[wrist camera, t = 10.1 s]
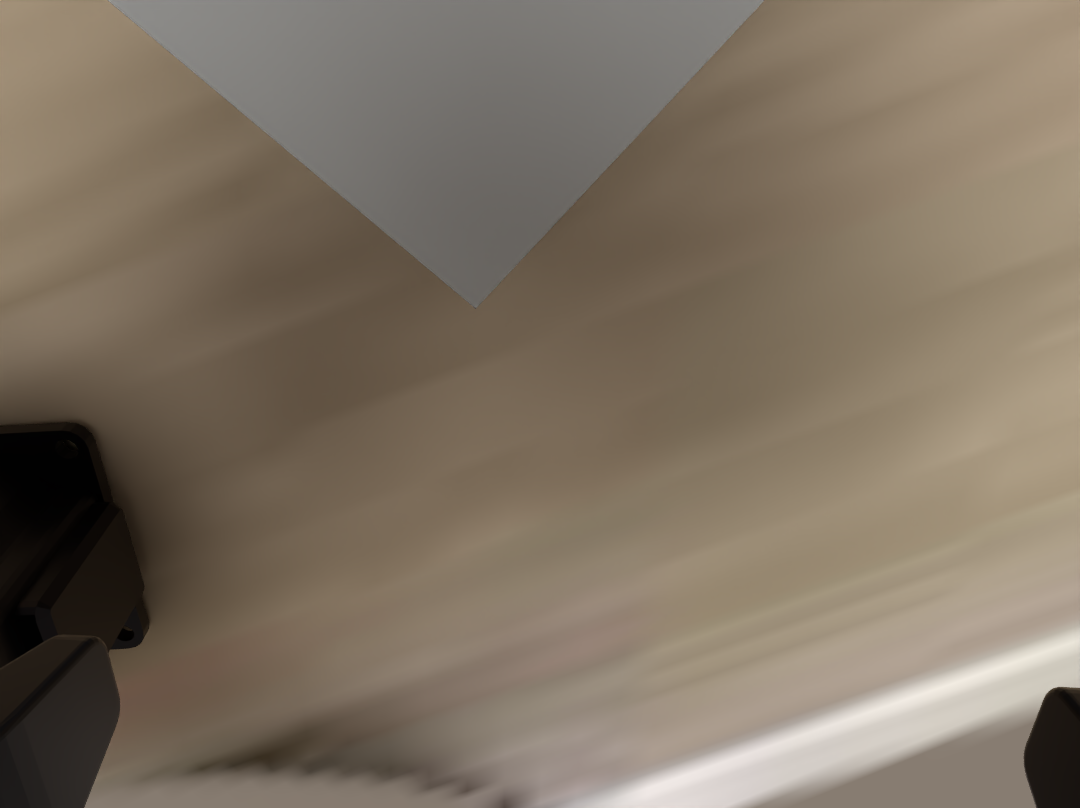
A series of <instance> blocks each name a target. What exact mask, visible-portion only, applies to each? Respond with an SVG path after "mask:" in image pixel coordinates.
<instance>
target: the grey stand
mask: <svg viewBox="0 0 1080 808" xmlns="http://www.w3.org/2000/svg"><path fill="white" fill-rule="evenodd" d="M108 1H109V2H110V3H111V4H113V5H114V6H115V7H116V8H117V9H119V10H120V11H121V12H122V13H123V14H125V15H126V16H127V17H128V18H129V19H131V20H132V21H133V22H134V23H135V24H137V25H138V26H139V27H140V28H141V29H142V30H144V31H145V32H146V33H147V34H148V35H150V36H151V37H152V38H153V39H154V40H156V41H157V42H158V43H159V44H160V45H162V46H163V47H164V48H165V49H166V50H168V51H169V52H170V53H171V54H172V55H173V56H175V57H176V58H177V59H178V60H179V61H181V62H182V63H183V64H184V65H185V66H187V67H188V68H189V69H190V70H191V71H193V72H194V73H195V74H196V75H197V76H199V77H200V78H201V79H202V80H203V81H205V82H206V83H207V84H208V85H209V86H210V87H212V88H213V89H214V90H215V91H216V92H218V93H219V94H220V95H221V96H222V97H224V98H225V99H226V100H227V101H228V102H230V103H231V104H232V105H233V106H234V107H236V108H237V109H238V110H239V111H240V112H241V113H243V114H244V115H245V116H246V117H247V118H249V119H250V120H251V121H252V122H253V123H255V124H256V125H257V126H258V127H259V128H261V129H262V130H263V131H264V132H265V133H267V134H268V135H269V136H270V137H271V138H273V139H274V140H275V141H276V142H277V143H278V144H280V145H281V146H282V147H283V148H284V149H286V150H287V151H288V152H289V153H290V154H292V155H293V156H294V157H295V158H296V159H298V160H299V161H300V162H301V163H302V164H304V165H305V166H306V167H307V168H308V169H309V170H311V171H312V172H313V173H314V174H315V175H317V176H318V177H319V178H320V179H321V180H323V181H324V182H325V183H326V184H327V185H329V186H330V187H331V188H332V189H333V190H335V191H336V192H337V193H338V194H339V195H341V196H342V197H343V198H344V199H345V200H346V201H348V202H349V203H350V204H351V205H352V206H354V207H355V208H356V209H357V210H358V211H360V212H361V213H362V214H363V215H364V216H366V217H367V218H368V219H369V220H370V221H372V222H373V223H374V224H375V225H376V226H377V227H379V228H380V229H381V230H382V231H383V232H385V233H386V234H387V235H388V236H389V237H391V238H392V239H393V240H394V241H395V242H397V243H398V244H399V245H400V246H401V247H403V248H404V249H405V250H406V251H407V252H409V253H410V254H411V255H412V256H413V257H414V258H416V259H417V260H418V261H419V262H420V263H422V264H423V265H424V266H425V267H426V268H428V269H429V270H430V271H431V272H432V273H434V274H435V275H436V276H437V277H438V278H440V279H441V280H442V281H443V282H444V283H445V284H447V285H448V286H449V287H450V288H451V289H453V290H454V291H455V292H456V293H457V294H459V295H460V296H461V297H462V298H463V299H465V300H466V301H467V302H468V303H469V304H471V305H472V306H473V307H474V308H475V309H476V308H477V307H478V306H479V305H480V304H481V303H482V302H483V300H484V299H485V298H486V297H487V296H488V295H489V294H490V293H491V292H492V291H493V290H494V289H495V288H496V287H497V286H498V284H499V283H500V282H501V281H502V280H503V279H504V278H505V277H506V276H507V275H508V274H509V273H510V272H511V271H512V270H513V268H514V267H515V266H516V265H517V264H518V263H519V262H520V261H521V260H522V259H523V258H524V257H525V256H526V255H527V253H528V252H529V251H530V250H531V249H532V248H533V247H534V246H535V245H536V244H537V243H538V242H539V241H540V240H541V239H542V237H543V236H544V235H545V234H546V233H547V232H548V231H549V230H550V229H551V228H552V227H553V226H554V225H555V224H556V223H557V221H558V220H559V219H560V218H561V217H562V216H563V215H564V214H565V213H566V212H567V211H568V210H569V209H570V208H571V206H572V205H573V204H574V203H575V202H576V201H577V200H578V199H579V198H580V197H581V196H582V195H583V194H584V193H585V192H586V190H587V189H588V188H589V187H590V186H591V185H592V184H593V183H594V182H595V181H596V180H597V179H598V178H599V177H600V175H601V174H602V173H603V172H604V171H605V170H606V169H607V168H608V167H609V166H610V165H611V164H612V163H613V162H614V161H615V159H616V158H617V157H618V156H619V155H620V154H621V153H622V152H623V151H624V150H625V149H626V148H627V147H628V146H629V145H630V143H631V142H632V141H633V140H634V139H635V138H636V137H637V136H638V135H639V134H640V133H641V132H642V131H643V130H644V128H645V127H646V126H647V125H648V124H649V123H650V122H651V121H652V120H653V119H654V118H655V117H656V116H657V115H658V114H659V112H660V111H661V110H662V109H663V108H664V107H665V106H666V105H667V104H668V103H669V102H670V101H671V100H672V99H673V98H674V96H675V95H676V94H677V93H678V92H679V91H680V90H681V89H682V88H683V87H684V86H685V85H686V84H687V83H688V81H689V80H690V79H691V78H692V77H693V76H694V75H695V74H696V73H697V72H698V71H699V70H700V69H701V68H702V67H703V65H704V64H705V63H706V62H707V61H708V60H709V59H710V58H711V57H712V56H713V55H714V54H715V53H716V52H717V51H718V49H719V48H720V47H721V46H722V45H723V44H724V43H725V42H726V41H727V40H728V39H729V38H730V37H731V36H732V34H733V33H734V32H735V31H736V30H737V29H738V28H739V27H740V26H741V25H742V24H743V23H744V22H745V21H746V20H747V18H748V17H749V16H750V15H751V14H752V13H753V12H754V11H755V10H756V9H757V8H758V7H759V6H760V5H761V3H762V2H763V1H764V0H108Z"/></svg>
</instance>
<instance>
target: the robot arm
mask: <svg viewBox="0 0 1080 808" xmlns="http://www.w3.org/2000/svg"><path fill="white" fill-rule="evenodd" d="M63 440H69V441H71V442H73V443H74V444H75V445H76V447H77V448H78V451H75V450H70V449H69V448H67V447H66V446H65V444H64V443H63ZM143 591H144V583H143V580H142V576H141V573H140V569H139V566H138V562H137V559H136V555H135V552H134V548H133V545H132V542H131V538H130V535H129V531H128V528H127V524H126V521H125V517H124V514H123V511H122V509H121V508H120V507H119V506H118V505H117V504H116V503H115V502H113V499H112V495H111V492H110V489H109V485H108V482H107V478H106V475H105V472H104V468H103V465H102V461H101V458H100V455H99V451H98V448H97V444H96V441H95V439H94V437H93V435H92V433H91V432H90V431H89V430H88V429H86V428H85V427H83V426H81V425H79V424H76V423H51V424H33V425H14V426H0V808H84V807H85V804H86V802H87V799H88V797H89V794H90V791H91V789H92V786H93V784H94V781H95V779H96V776H97V773H98V771H99V768H100V766H101V763H102V761H103V758H104V756H105V753H106V750H107V748H108V745H109V743H110V740H111V738H112V735H113V732H114V730H115V727H116V724H117V721H118V717H119V712H120V698H119V693H118V689H117V685H116V681H115V677H114V673H113V670H112V666H111V662H110V658H109V654H108V653H109V651H110V649H126V648H132V647H136V646H138V645H139V644H140V643H141V642H142V640H143V638H144V636H145V635H146V633H147V631H148V629H149V621H148V618H147V615H146V611H145V608H144V604H143V601H142V598H141V595H142V593H143ZM123 626H127V627H129V628H131V629H132V631H128V630H125V629H124V628H123ZM1024 767H1025V773H1026V777H1027V780H1028V783H1029V786H1030V790H1031V793H1032V796H1033V799H1034V802H1035V805H1036V808H1080V688H1069V687H1057V688H1053V689H1052V690H1050V691H1049V692H1048V693H1047V694H1046V696H1045V698H1044V700H1043V702H1042V705H1041V708H1040V710H1039V713H1038V715H1037V718H1036V720H1035V723H1034V725H1033V728H1032V731H1031V733H1030V736H1029V738H1028V741H1027V743H1026V747H1025V751H1024Z"/></svg>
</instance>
